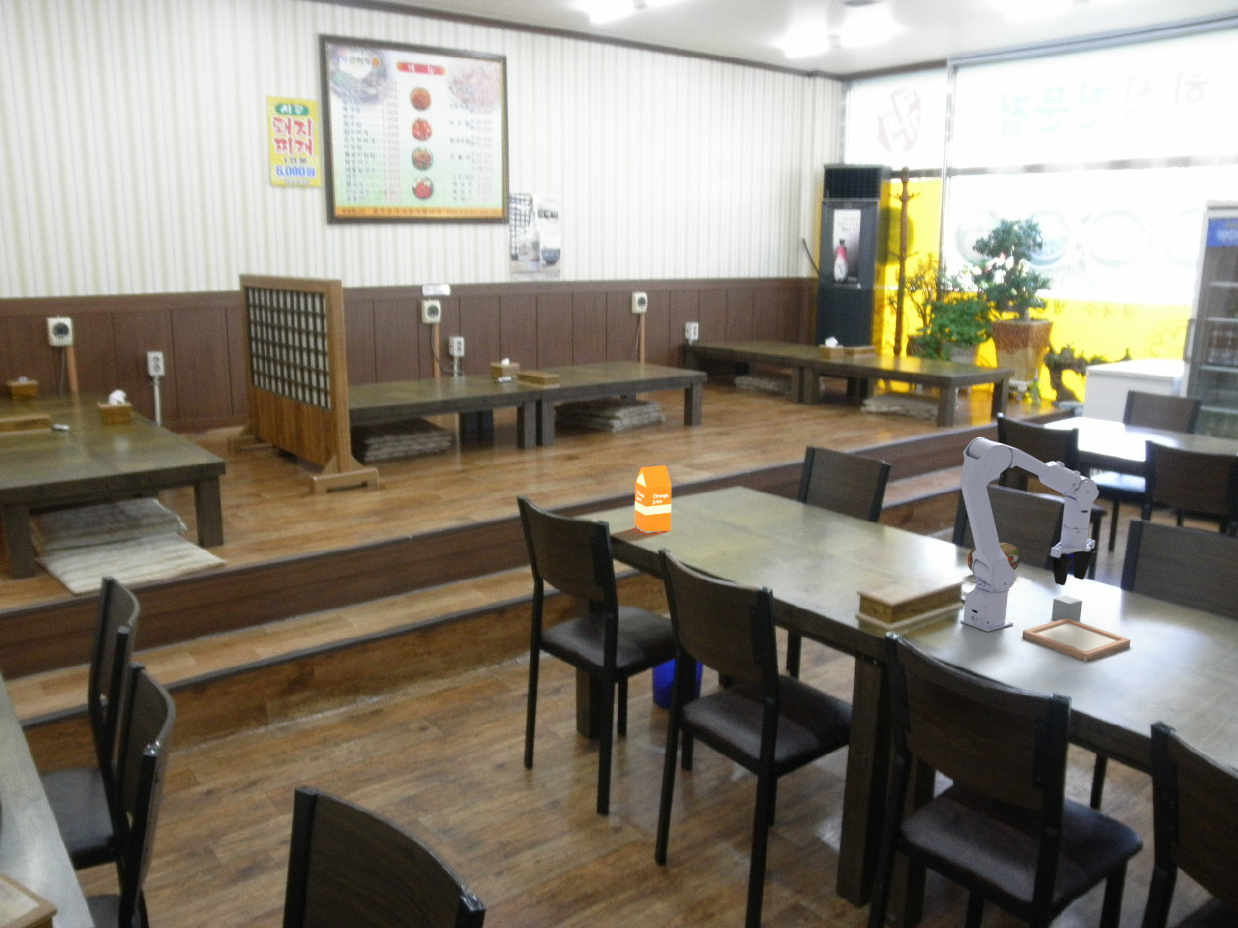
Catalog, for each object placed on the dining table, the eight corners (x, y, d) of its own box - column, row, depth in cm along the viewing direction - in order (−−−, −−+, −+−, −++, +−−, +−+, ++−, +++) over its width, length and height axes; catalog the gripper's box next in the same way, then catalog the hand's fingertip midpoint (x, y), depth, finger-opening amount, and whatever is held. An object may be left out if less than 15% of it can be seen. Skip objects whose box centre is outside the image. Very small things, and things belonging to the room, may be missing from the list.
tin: (971, 577, 277) (973, 547, 275) (964, 573, 280) (967, 544, 278) (1019, 573, 281) (1022, 543, 279) (1012, 569, 284) (1015, 540, 282)
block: (1068, 624, 243) (1070, 604, 242) (1051, 618, 247) (1053, 598, 246) (1080, 620, 246) (1082, 600, 245) (1063, 614, 250) (1065, 595, 248)
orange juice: (634, 527, 321) (635, 465, 317) (659, 524, 325) (660, 462, 321) (645, 534, 314) (646, 470, 310) (671, 531, 318) (672, 467, 314)
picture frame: (1086, 661, 222) (1087, 654, 221) (1022, 637, 235) (1023, 630, 234) (1129, 646, 230) (1130, 639, 230) (1065, 624, 243) (1066, 617, 243)
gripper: (1072, 534, 235) (1066, 591, 238) (1109, 525, 243) (1102, 580, 246) (1045, 527, 240) (1039, 582, 243) (1081, 518, 248) (1075, 572, 251)
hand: (1069, 581), depth 245 cm, fingers open, 7 cm apart
